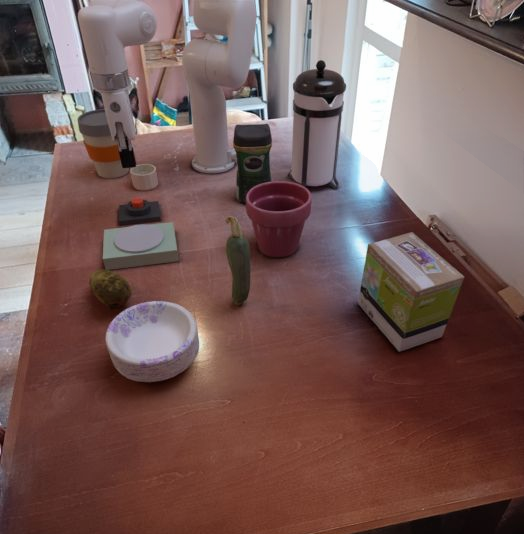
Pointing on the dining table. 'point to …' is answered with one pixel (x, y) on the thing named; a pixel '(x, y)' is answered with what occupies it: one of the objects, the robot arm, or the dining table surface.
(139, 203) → the tare button
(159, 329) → the paper bowls
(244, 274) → the vegetable
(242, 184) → the coffee jar
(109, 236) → the scale
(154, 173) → the bowl
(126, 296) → the potato
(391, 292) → the tea box
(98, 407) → the dining table surface
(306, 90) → the coffee press
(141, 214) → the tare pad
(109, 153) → the reusable coffee cup
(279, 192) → the flower pot
